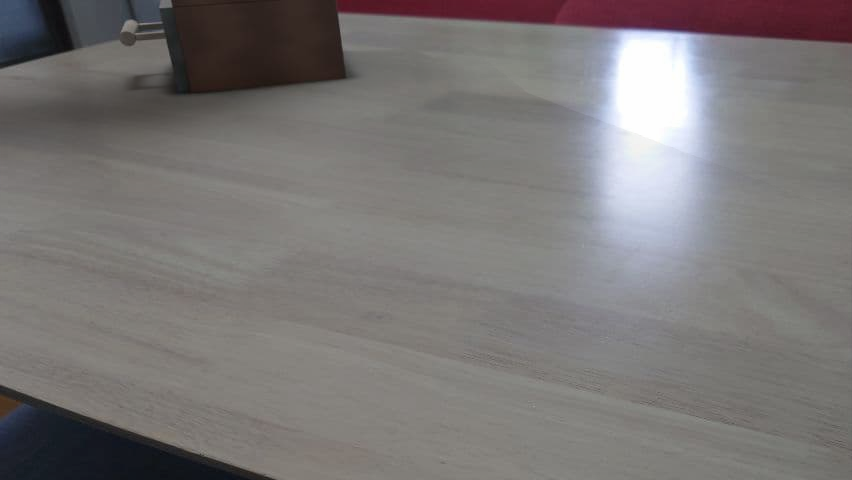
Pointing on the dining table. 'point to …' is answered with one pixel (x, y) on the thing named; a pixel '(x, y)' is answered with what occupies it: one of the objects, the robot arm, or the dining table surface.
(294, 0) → the cabinet
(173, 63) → the drawer
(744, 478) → the dining table surface
